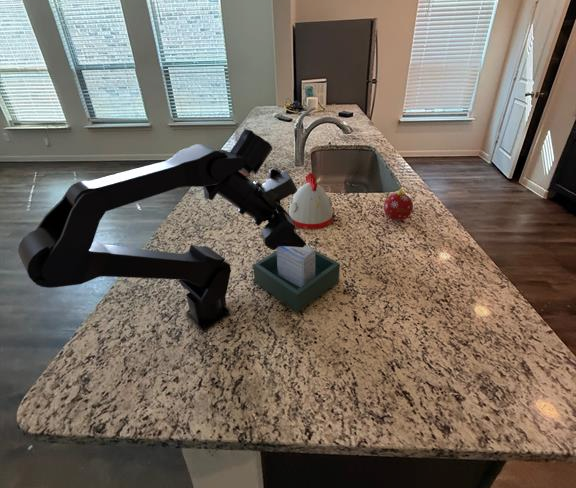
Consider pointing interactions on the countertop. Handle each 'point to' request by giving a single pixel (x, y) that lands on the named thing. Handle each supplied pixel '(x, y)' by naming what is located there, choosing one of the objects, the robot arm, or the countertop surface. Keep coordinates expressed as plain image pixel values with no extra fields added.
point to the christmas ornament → (398, 206)
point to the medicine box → (296, 264)
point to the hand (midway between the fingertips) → (298, 233)
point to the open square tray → (290, 292)
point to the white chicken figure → (311, 205)
